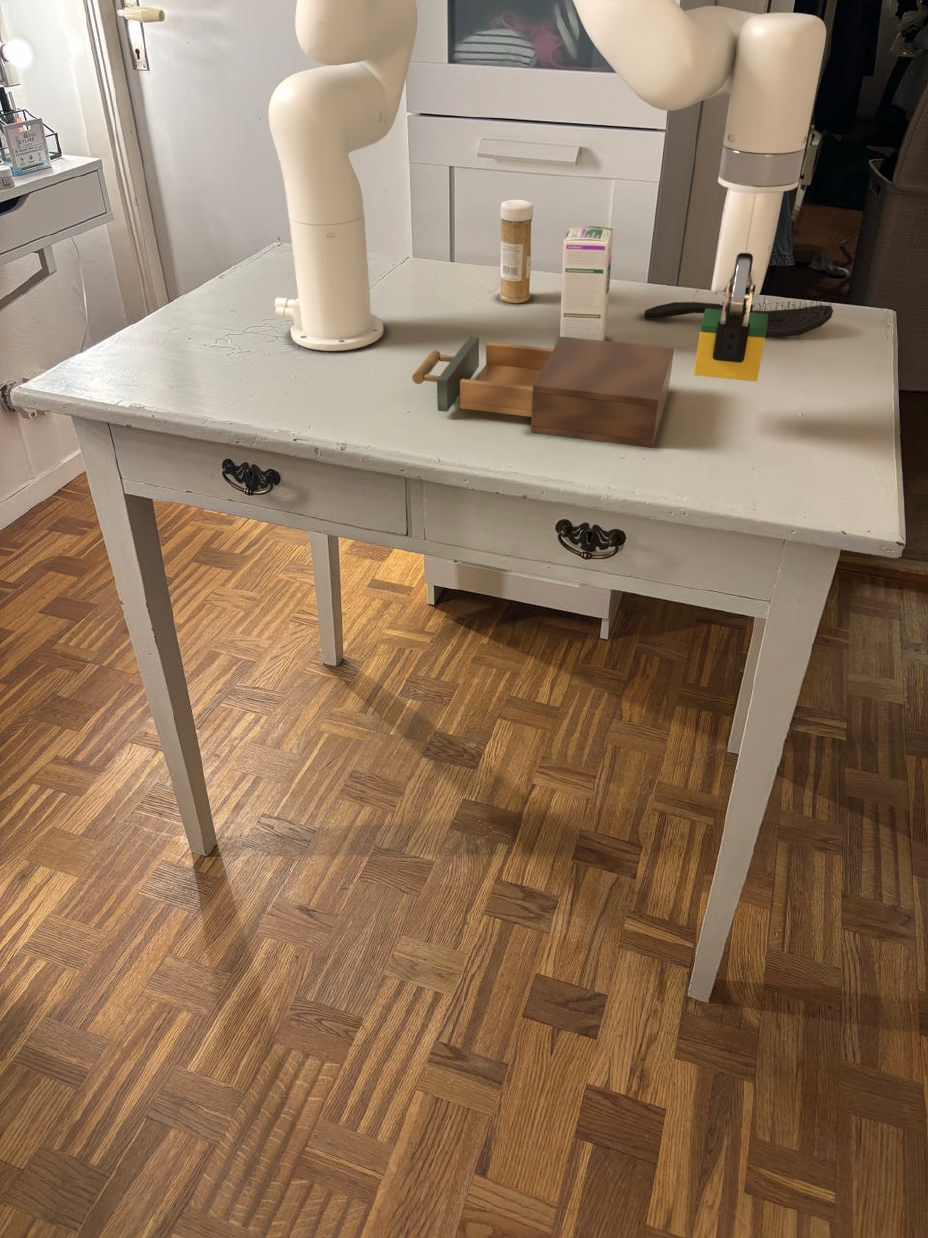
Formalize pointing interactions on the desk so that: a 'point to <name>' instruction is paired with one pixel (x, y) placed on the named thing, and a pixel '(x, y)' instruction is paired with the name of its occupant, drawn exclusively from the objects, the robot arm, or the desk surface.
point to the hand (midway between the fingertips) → (730, 348)
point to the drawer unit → (602, 391)
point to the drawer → (487, 377)
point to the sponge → (724, 368)
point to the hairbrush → (778, 320)
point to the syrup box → (586, 282)
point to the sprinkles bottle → (515, 250)
